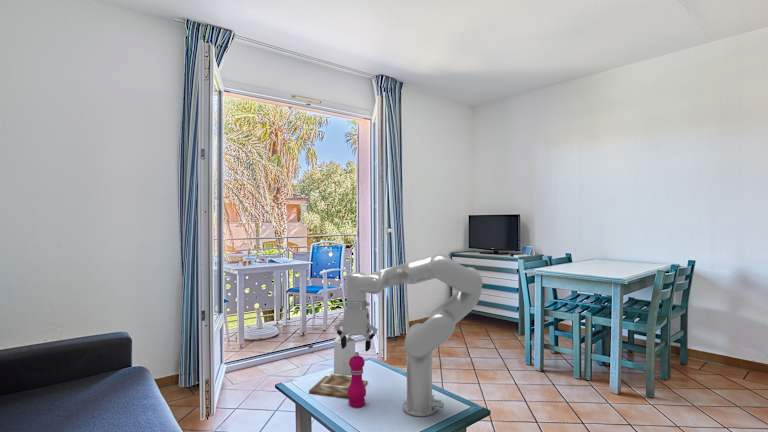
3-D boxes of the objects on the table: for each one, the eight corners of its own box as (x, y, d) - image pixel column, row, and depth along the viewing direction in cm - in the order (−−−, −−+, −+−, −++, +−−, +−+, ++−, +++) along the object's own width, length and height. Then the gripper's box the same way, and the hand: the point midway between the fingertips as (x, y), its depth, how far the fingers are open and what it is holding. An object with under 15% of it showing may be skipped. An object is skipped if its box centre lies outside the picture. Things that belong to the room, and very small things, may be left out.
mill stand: (367, 383, 170) (367, 375, 170) (354, 399, 155) (354, 391, 155) (325, 378, 176) (325, 370, 176) (308, 393, 161) (308, 385, 161)
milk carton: (346, 369, 187) (346, 329, 187) (355, 373, 182) (355, 332, 182) (333, 373, 182) (333, 332, 182) (343, 377, 177) (343, 335, 177)
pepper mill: (363, 409, 147) (363, 355, 148) (345, 407, 149) (345, 354, 149) (368, 400, 154) (368, 349, 155) (350, 398, 156) (350, 348, 156)
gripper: (380, 304, 153) (379, 348, 153) (339, 301, 158) (338, 343, 158) (374, 308, 146) (373, 354, 146) (331, 305, 151) (331, 349, 151)
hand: (355, 348), depth 152 cm, fingers open, 9 cm apart
